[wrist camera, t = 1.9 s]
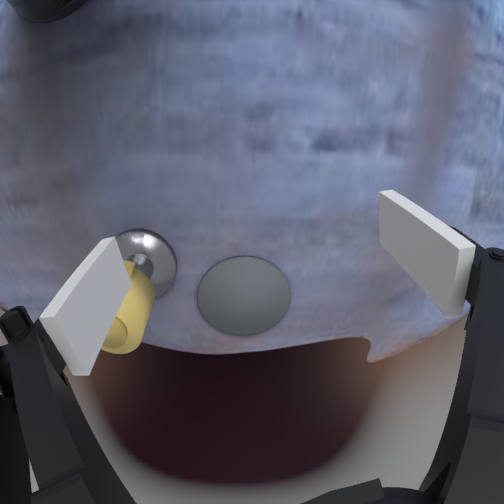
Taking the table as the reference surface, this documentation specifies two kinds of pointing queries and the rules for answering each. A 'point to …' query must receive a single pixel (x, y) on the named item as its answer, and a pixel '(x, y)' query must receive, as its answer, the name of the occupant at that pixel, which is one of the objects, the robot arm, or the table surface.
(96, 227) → the table surface
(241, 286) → the rubber mat
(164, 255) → the metal disc with peg
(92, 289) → the robot arm
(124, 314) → the cap
